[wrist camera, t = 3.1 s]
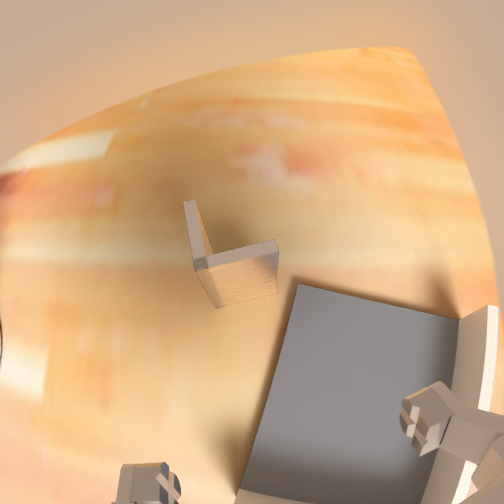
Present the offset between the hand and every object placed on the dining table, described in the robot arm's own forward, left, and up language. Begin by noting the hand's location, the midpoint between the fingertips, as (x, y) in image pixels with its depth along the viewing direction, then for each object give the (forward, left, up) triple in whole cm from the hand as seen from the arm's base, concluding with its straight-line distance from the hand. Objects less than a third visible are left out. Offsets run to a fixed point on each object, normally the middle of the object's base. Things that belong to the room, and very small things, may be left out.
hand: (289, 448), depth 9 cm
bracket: (-6, +11, -14) cm, 19 cm away
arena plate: (+7, +2, -14) cm, 16 cm away
